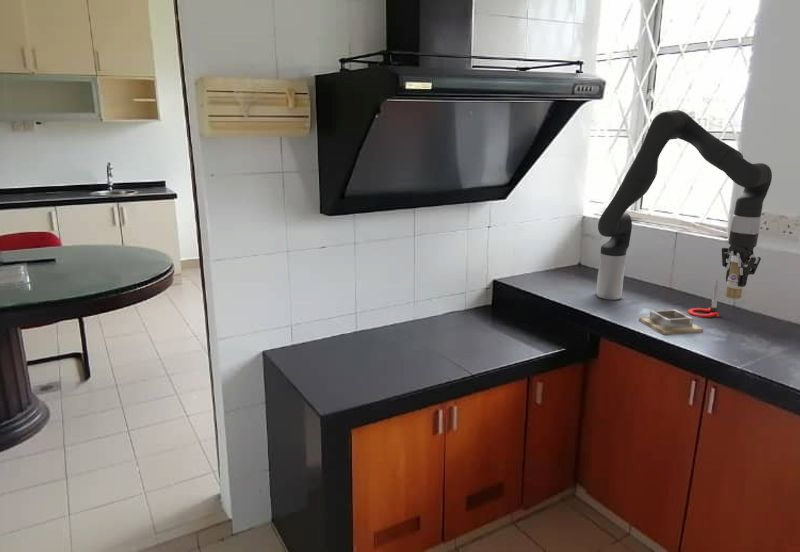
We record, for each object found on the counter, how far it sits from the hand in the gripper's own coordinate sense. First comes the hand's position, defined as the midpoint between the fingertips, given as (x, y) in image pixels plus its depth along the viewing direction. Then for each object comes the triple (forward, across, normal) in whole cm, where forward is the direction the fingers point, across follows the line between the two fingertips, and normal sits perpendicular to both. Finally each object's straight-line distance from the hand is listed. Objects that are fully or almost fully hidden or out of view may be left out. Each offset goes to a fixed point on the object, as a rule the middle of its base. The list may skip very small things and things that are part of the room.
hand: (735, 283), depth 179 cm
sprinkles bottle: (+5, 0, 0) cm, 5 cm away
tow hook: (+18, -21, +7) cm, 28 cm away
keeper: (+18, -12, -12) cm, 24 cm away
